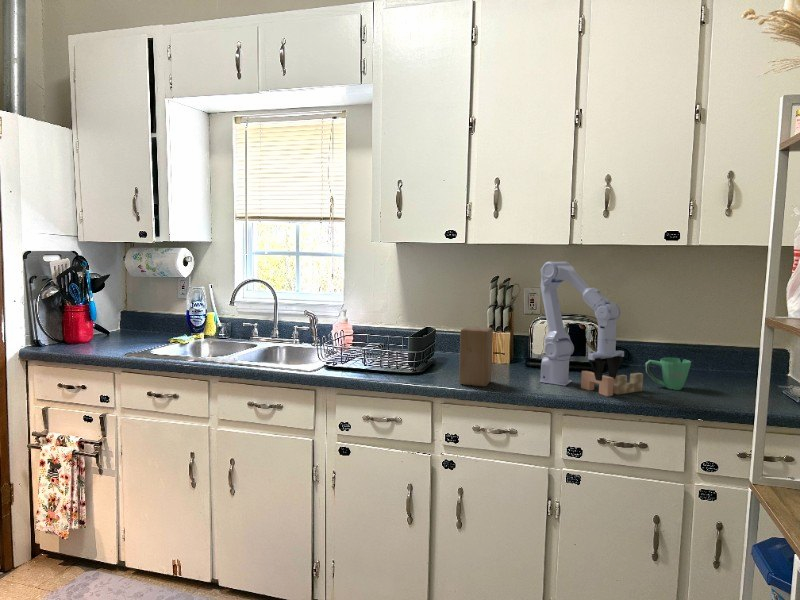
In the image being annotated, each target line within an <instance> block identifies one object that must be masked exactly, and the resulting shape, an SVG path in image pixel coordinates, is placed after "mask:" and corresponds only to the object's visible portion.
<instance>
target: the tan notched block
mask: <svg viewBox="0 0 800 600" xmlns="http://www.w3.org/2000/svg"><path fill="white" fill-rule="evenodd" d="M627 381H628V376H627V375H625V374H619V375H617V374H616V378H615V379H613V395H614V394H615V395H623V394H629V393H630V394H631V393H636V392H643V384H644V383H643V381H644V373H641V372H633V373H630V374H629V382H627Z"/></svg>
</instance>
